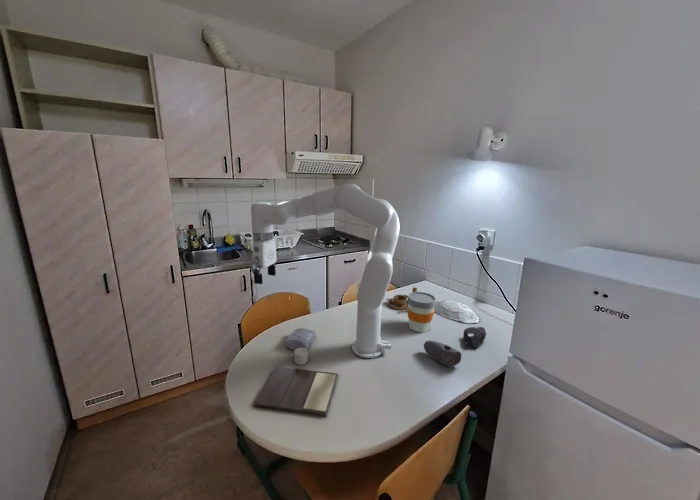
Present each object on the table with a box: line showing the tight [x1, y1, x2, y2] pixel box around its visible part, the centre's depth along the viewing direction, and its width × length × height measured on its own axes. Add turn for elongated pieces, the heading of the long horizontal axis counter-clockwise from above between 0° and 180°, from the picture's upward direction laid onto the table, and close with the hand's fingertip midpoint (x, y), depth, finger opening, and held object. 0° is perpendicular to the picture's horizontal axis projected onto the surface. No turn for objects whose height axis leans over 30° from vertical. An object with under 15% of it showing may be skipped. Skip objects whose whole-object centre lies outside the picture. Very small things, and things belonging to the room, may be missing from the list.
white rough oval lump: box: [434, 299, 480, 324], centre depth 152 cm, size 16×25×7 cm, turn 45°
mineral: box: [463, 326, 487, 348], centre depth 126 cm, size 10×9×6 cm
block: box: [285, 327, 316, 351], centre depth 123 cm, size 12×5×10 cm
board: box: [254, 365, 338, 417], centre depth 97 cm, size 22×18×1 cm
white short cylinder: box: [293, 348, 309, 366], centre depth 111 cm, size 5×5×4 cm
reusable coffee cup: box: [406, 291, 436, 333], centre depth 136 cm, size 13×13×15 cm
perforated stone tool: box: [423, 340, 462, 368], centre depth 113 cm, size 15×5×7 cm, turn 40°
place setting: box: [386, 287, 418, 314], centre depth 160 cm, size 18×20×6 cm
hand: (265, 279), depth 116 cm, fingers open, 9 cm apart
